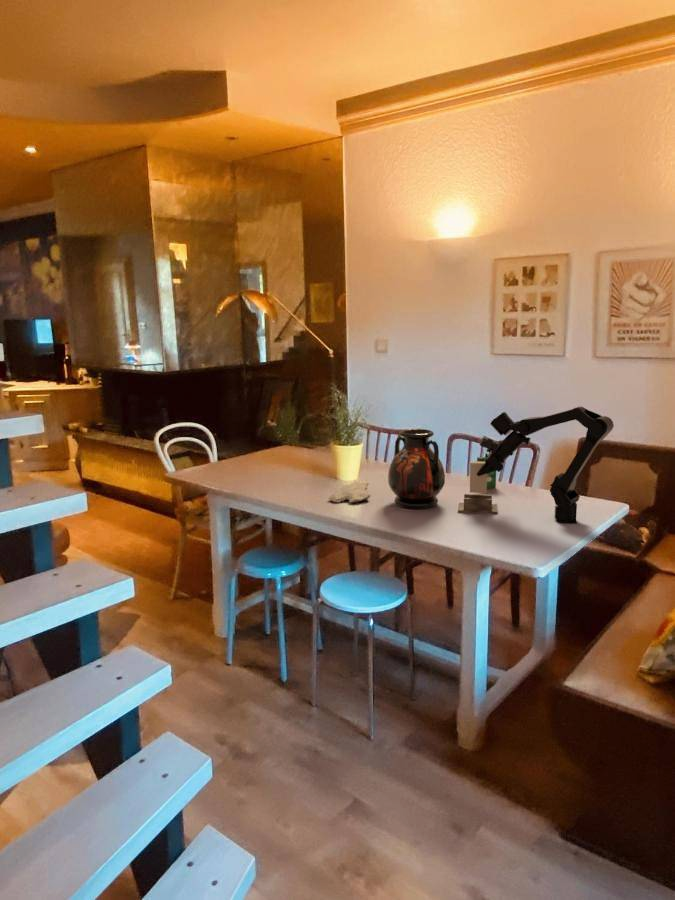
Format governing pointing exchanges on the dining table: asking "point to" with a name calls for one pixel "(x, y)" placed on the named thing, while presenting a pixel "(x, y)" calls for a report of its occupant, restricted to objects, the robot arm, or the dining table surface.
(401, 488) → the amphora vase
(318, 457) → the dining table surface
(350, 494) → the rock
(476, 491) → the tan rectangular block
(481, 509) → the slot rack
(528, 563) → the dining table surface
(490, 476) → the coffee box
